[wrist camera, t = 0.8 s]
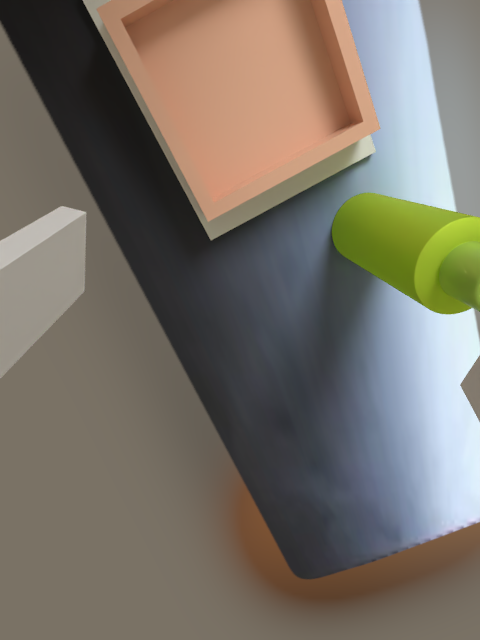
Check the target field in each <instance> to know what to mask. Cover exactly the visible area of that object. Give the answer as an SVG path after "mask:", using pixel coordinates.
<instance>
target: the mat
mask: <svg viewBox="0 0 480 640" xmlns="http://www.w3.org/2000/svg"><path fill="white" fill-rule="evenodd" d="M109 1H111V0H83V2H84V4H85V6H86V8H87V10H88V12H89V13H90V15H91V17H92V19H93V21H94V23H95V25H96V27H97V28H98V30H99V32H100V34H101V36H102V38H103V40H104V42H105V43H106V45H107V47H108V49H109V51H110V53H111V55H112V57H113V58H114V60H115V62H116V64H117V66H118V68H119V70H120V72H121V73H122V75H123V77H124V79H125V81H126V83H127V85H128V86H129V88H130V90H131V92H132V94H133V96H134V98H135V100H136V101H137V103H138V105H139V107H140V109H141V111H142V113H143V115H144V116H145V118H146V120H147V122H148V124H149V126H150V128H151V130H152V131H153V133H154V135H155V137H156V139H157V141H158V143H159V145H160V146H161V148H162V150H163V152H164V154H165V156H166V158H167V159H168V161H169V163H170V165H171V167H172V169H173V171H174V173H175V174H176V176H177V178H178V180H179V182H180V184H181V186H182V188H183V189H184V191H185V193H186V195H187V197H188V199H189V201H190V203H191V204H192V206H193V208H194V210H195V212H196V214H197V216H198V218H199V219H200V221H201V223H202V225H203V227H204V229H205V231H206V232H207V234H208V236H209V238H210V240H213V239H215V238H217V237H218V236H220V235H222V234H224V233H226V232H228V231H230V230H231V229H233V228H235V227H237V226H239V225H241V224H243V223H244V222H246V221H248V220H250V219H252V218H254V217H256V216H257V215H259V214H261V213H263V212H265V211H267V210H269V209H270V208H272V207H274V206H276V205H278V204H280V203H281V202H283V201H285V200H287V199H289V198H291V197H293V196H294V195H296V194H298V193H300V192H302V191H304V190H306V189H307V188H309V187H311V186H313V185H315V184H317V183H319V182H320V181H322V180H324V179H326V178H328V177H330V176H332V175H333V174H335V173H337V172H339V171H341V170H343V169H345V168H346V167H348V166H350V165H352V164H354V163H356V162H358V161H359V160H361V159H363V158H365V157H367V156H369V155H371V154H372V153H374V152H376V151H375V148H374V145H373V141H372V138H371V135H368V136H366V137H364V138H362V139H360V140H359V141H357V142H355V143H353V144H351V145H349V146H348V147H346V148H344V149H342V150H340V151H338V152H336V153H335V154H333V155H331V156H329V157H327V158H325V159H323V160H322V161H320V162H318V163H316V164H314V165H312V166H311V167H309V168H307V169H305V170H303V171H301V172H299V173H298V174H296V175H294V176H292V177H290V178H288V179H287V180H285V181H283V182H281V183H279V184H277V185H275V186H274V187H272V188H270V189H268V190H266V191H264V192H262V193H261V194H259V195H257V196H255V197H253V198H251V199H250V200H248V201H246V202H244V203H242V204H240V205H238V206H237V207H235V208H233V209H231V210H229V211H227V212H226V213H224V214H222V215H220V216H218V217H216V218H214V219H213V220H211V221H209V222H208V221H207V219H206V217H205V215H204V213H203V212H202V210H201V208H200V206H199V204H198V202H197V200H196V198H195V196H194V194H193V193H192V191H191V189H190V187H189V185H188V183H187V181H186V179H185V177H184V175H183V174H182V172H181V170H180V168H179V166H178V164H177V162H176V160H175V158H174V156H173V155H172V153H171V151H170V149H169V147H168V145H167V143H166V141H165V139H164V137H163V136H162V134H161V132H160V130H159V128H158V126H157V124H156V122H155V120H154V118H153V117H152V115H151V113H150V111H149V109H148V107H147V105H146V103H145V101H144V99H143V98H142V96H141V94H140V92H139V90H138V88H137V86H136V84H135V82H134V80H133V79H132V77H131V75H130V73H129V71H128V69H127V67H126V65H125V63H124V61H123V60H122V58H121V56H120V54H119V52H118V50H117V48H116V46H115V44H114V42H113V41H112V39H111V37H110V35H109V33H108V31H107V29H106V27H105V25H104V23H103V22H102V20H101V18H100V16H99V13H98V11H97V8H98V7H100V6H102V5H104V4H106V3H107V2H109Z"/></svg>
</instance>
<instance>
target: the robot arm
mask: <svg viewBox="0 0 480 640" xmlns="http://www.w3.org/2000/svg"><path fill="white" fill-rule="evenodd" d="M86 213H87V212H84V211H80V210H76V209H72V208H68V207H64V206H61V207H59V208H57V209H56V210H54V211H52V212H50V213H49V214H47V215H45V216H43V217H41V218H40V219H38V220H36V221H35V222H33V223H31V224H30V225H27V226H26V227H24V228H22V229H20V230H19V231H17V232H15V233H13V234H12V235H10V236H8V237H7V238H5V239H3V240H1V241H0V378H1V377H2V376H3V375H4V374H5V373H6V372H7V371H8V370H9V369H10V368H11V367H12V366H13V365H14V364H15V363H16V362H17V361H18V360H19V359H20V358H21V357H22V355H24V353H25V352H26V351H27V350H28V349H29V348H30V347H31V346H32V345H33V344H34V343H35V342H36V341H37V340H38V339H39V338H40V337H41V336H42V335H43V334H44V333H45V332H46V331H47V330H48V329H49V328H50V326H51V325H52V324H53V323H54V322H55V321H56V320H57V319H58V318H59V317H60V316H61V315H62V314H63V313H64V312H65V311H66V310H67V309H68V308H69V307H70V306H71V305H72V304H73V303H74V302H75V301H76V299H77V298H78V297H79V296H80V295H81V294H82V293H83V292H84V291H85V254H86V253H85V252H86ZM461 387H462V389H463V391H464V393H465V395H466V397H467V399H468V400H469V402H470V404H471V406H472V408H473V410H474V412H475V414H476V416H477V417H478V419H479V421H480V356H479V357H478V359H477V360H476V362H475V363H474V365H473V366H472V368H471V369H470V371H469V372H468V374H467V375H466V377H465V378H464V380H463V382H462V383H461Z"/></svg>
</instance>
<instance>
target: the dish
mask: <svg viewBox="0 0 480 640" xmlns="http://www.w3.org/2000/svg"><path fill="white" fill-rule="evenodd" d="M97 11H98V13H99V16H100V18H101V20H102V22H103V23H104V25H105V27H106V29H107V31H108V33H109V35H110V37H111V39H112V41H113V42H114V44H115V46H116V48H117V50H118V52H119V54H120V56H121V58H122V60H123V61H124V63H125V65H126V67H127V69H128V71H129V73H130V75H131V77H132V79H133V80H134V82H135V84H136V86H137V88H138V90H139V92H140V94H141V96H142V98H143V99H144V101H145V103H146V105H147V107H148V109H149V111H150V113H151V115H152V117H153V118H154V120H155V122H156V124H157V126H158V128H159V130H160V132H161V134H162V136H163V137H164V139H165V141H166V143H167V145H168V147H169V149H170V151H171V153H172V155H173V156H174V158H175V160H176V162H177V164H178V166H179V168H180V170H181V172H182V174H183V175H184V177H185V179H186V181H187V183H188V185H189V187H190V189H191V191H192V193H193V194H194V196H195V198H196V200H197V202H198V204H199V206H200V208H201V210H202V212H203V213H204V215H205V217H206V219H207V221H208V222H209V221H211V220H213V219H214V218H216V217H218V216H220V215H222V214H224V213H226V212H227V211H229V210H231V209H233V208H235V207H237V206H238V205H240V204H242V203H244V202H246V201H248V200H250V199H251V198H253V197H255V196H257V195H259V194H261V193H262V192H264V191H266V190H268V189H270V188H272V187H274V186H275V185H277V184H279V183H281V182H283V181H285V180H287V179H288V178H290V177H292V176H294V175H296V174H298V173H299V172H301V171H303V170H305V169H307V168H309V167H311V166H312V165H314V164H316V163H318V162H320V161H322V160H323V159H325V158H327V157H329V156H331V155H333V154H335V153H336V152H338V151H340V150H342V149H344V148H346V147H348V146H349V145H351V144H353V143H355V142H357V141H359V140H360V139H362V138H364V137H366V136H368V135H370V134H372V133H373V132H375V131H377V130H379V129H380V126H379V122H378V119H377V116H376V112H375V109H374V106H373V103H372V99H371V96H370V93H369V89H368V86H367V83H366V79H365V76H364V73H363V69H362V66H361V63H360V60H359V56H358V53H357V50H356V46H355V43H354V40H353V36H352V33H351V30H350V27H349V23H348V20H347V17H346V13H345V10H344V7H343V3H342V0H111V1H109V2H107V3H106V4H104V5H102V6H100V7H98V8H97Z"/></svg>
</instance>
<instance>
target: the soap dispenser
mask: <svg viewBox="0 0 480 640" xmlns="http://www.w3.org/2000/svg"><path fill="white" fill-rule="evenodd" d="M332 238H333V242H334V245H335V247H336V249H337V250H338V251H339V252H340V253H341V254H342V255H343V256H344V257H346V258H347V259H349V260H351V261H352V262H354V263H355V264H357V265H359V266H360V267H362V268H364V269H365V270H367V271H368V272H370V273H372V274H373V275H375V276H376V277H378V278H380V279H381V280H383V281H385V282H386V283H388V284H389V285H391V286H393V287H394V288H396V289H397V290H399V291H401V292H402V293H404V294H406V295H407V296H409V297H410V298H412V299H414V300H415V301H417V302H418V303H420V304H422V305H423V306H425V307H427V308H428V309H430V310H432V311H434V312H437V313H440V314H456V313H460V312H464V311H466V310H469V309H471V308H474V309H476V310H478V311H479V312H480V217H475V216H471V215H467V214H462V213H458V212H453V211H449V210H445V209H440V208H436V207H432V206H427V205H423V204H419V203H414V202H410V201H406V200H401V199H397V198H392V197H388V196H384V195H379V194H375V193H362V194H359V195H356V196H354V197H352V198H350V199H349V200H348V201H346V202H345V203H344V204H343V205H342V206H341V208H340V209H339V210H338V212H337V214H336V216H335V218H334V221H333V226H332Z"/></svg>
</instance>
